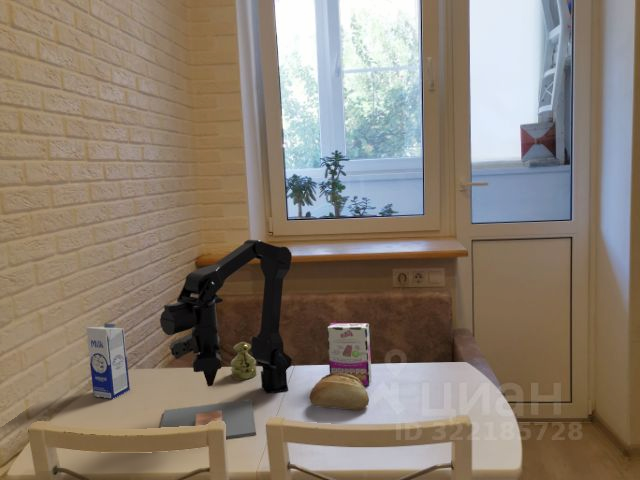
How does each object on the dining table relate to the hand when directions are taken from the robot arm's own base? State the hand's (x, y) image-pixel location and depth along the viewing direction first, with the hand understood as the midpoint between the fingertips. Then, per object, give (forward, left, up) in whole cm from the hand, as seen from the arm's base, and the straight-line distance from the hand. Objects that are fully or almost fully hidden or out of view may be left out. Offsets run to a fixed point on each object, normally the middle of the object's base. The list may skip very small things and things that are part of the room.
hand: (210, 385), depth 129 cm
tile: (+1, +1, -7) cm, 7 cm away
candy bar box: (-38, -11, -9) cm, 40 cm away
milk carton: (+28, -23, -9) cm, 38 cm away
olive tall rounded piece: (-9, -25, -9) cm, 28 cm away
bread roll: (-31, +3, -9) cm, 33 cm away
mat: (+1, +3, -8) cm, 9 cm away
